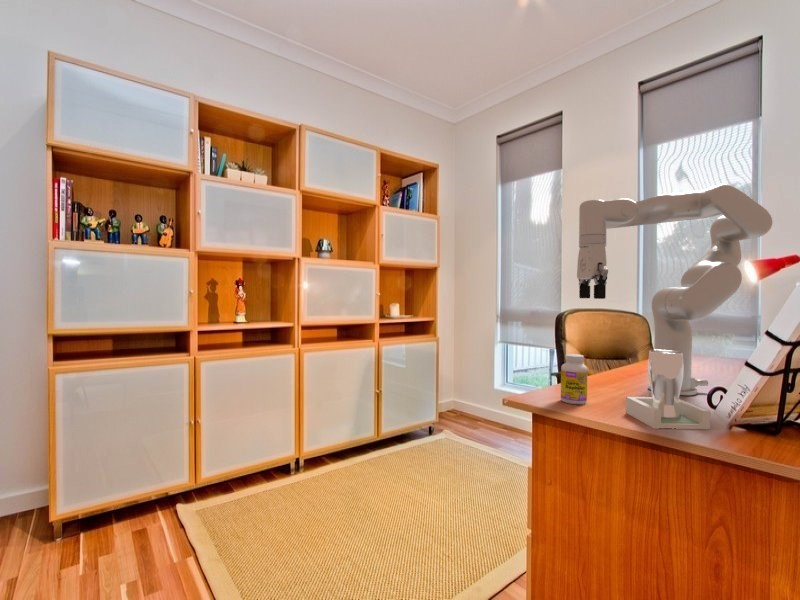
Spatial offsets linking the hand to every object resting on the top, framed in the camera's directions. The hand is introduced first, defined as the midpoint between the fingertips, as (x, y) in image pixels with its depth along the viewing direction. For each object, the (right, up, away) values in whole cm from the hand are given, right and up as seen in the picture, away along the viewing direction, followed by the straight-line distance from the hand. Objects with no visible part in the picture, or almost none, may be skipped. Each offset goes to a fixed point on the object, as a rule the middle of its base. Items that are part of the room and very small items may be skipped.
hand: (591, 298), depth 125 cm
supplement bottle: (-11, -29, -12) cm, 33 cm away
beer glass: (+4, -28, -29) cm, 40 cm away
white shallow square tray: (+4, -29, -29) cm, 41 cm away
